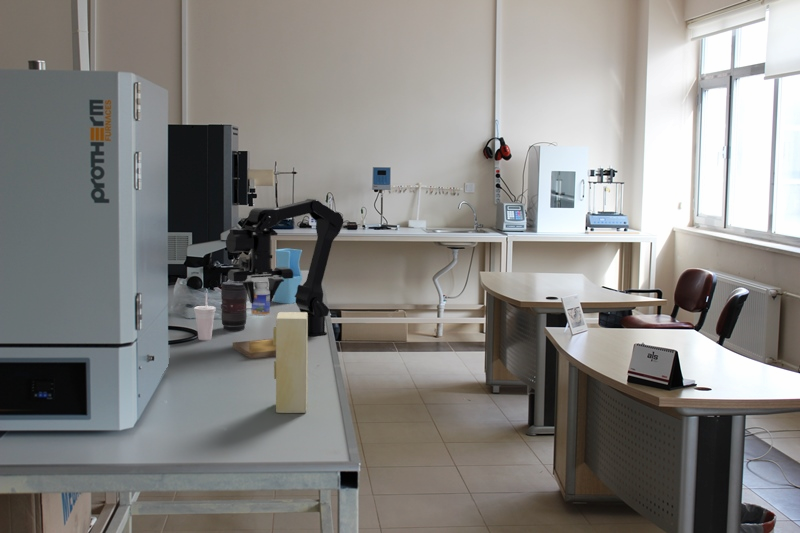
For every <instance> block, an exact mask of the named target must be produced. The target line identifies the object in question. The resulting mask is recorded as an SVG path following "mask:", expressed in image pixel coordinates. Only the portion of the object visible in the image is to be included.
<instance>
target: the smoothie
mask: <svg viewBox="0 0 800 533" xmlns="http://www.w3.org/2000/svg"><path fill="white" fill-rule="evenodd" d="M208 304H209V303H208V293H207V292H206V293H205V305H198V306H194V308H193V311H194V313H195V314H194V315H195V321H196V330H197V337H198V340H199V341H211V340H212V337H213V336H212V335H213V328H214V327H213V326H214V320H215V312H216V311H217V310H216V306H212V305H208Z"/></svg>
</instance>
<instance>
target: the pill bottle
mask: <svg viewBox="0 0 800 533" xmlns="http://www.w3.org/2000/svg"><path fill="white" fill-rule="evenodd" d="M253 282H254V281H253ZM270 312H271V302H270V290H269V281H264V280H263V281H262V280H261V281H260V280H259V281H255V282H254V300H253V304H251V315H253V316H258V317H263V316H265V317H266V316H269V315H270Z"/></svg>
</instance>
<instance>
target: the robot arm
mask: <svg viewBox="0 0 800 533" xmlns="http://www.w3.org/2000/svg"><path fill="white" fill-rule="evenodd" d="M304 215H309V216H310V217H311V219H313V220H314V221H315V230H316V235H317V237H316V238H317V239H316V243H315V246H314V249H313V254H312V258H311V262H310V266H309V269H308V273H307V277H306V280H305V282H304V283H303V284H300V285H298V287H297V293H296V295H295V297H296V303H295V304H296V307H298V310H299V312H307V313H308V337H313V336H315V337H316V336H322V335H328V332H326V328H325V327H326V324H325V323H326V317H328V316H329V313H330V308H328V306H327V305H326V304H325V303H324V302H323V301H324V290H323V286H322V283H323V280H324V277H325V272H326V268H327V265H328V261H329V256H330V254H331V250H332V244H333V242H334V240H335V239H336V238H337V236H338V235H339V234H340V232H341V230H342V227H343V225H344V218H343V216H342V214H341V213H339V212H337V211H334V210H333V208H332V209H331V208H330V207H328V206H326V205H324V203H322V202H321V201H320V200H318V199H315V198H307V199H305V200H303V201H302V200H301V201H296V202H293V203H290V204H285V205H280V206H276V207H254V208H252V209H250V211H249V213H248V216H247V218H246V220H245V221H244V223H243V225H242V226H241V228H239V229H238V228H237V229H236V228H230V229H229V233H227V236H226V239H225V246H226V250H227V251H228V252H229V253H230V254H231V253H234V254H235V253H248V252H251V253H249V258H248V259H247V257H245V256H243V257H239V258H238V268H239V269H238V268H237V269H229V270H228V272H227V279H228V280H230V281H231V282H241V283H242V284H243V285H244V287H245V289H246V291H247V298H248V299H249V302H250V305H252V304H253V300H254V289H255V287H254V281H252V279H255V278H267V280H268V281H267V282H268V289H269V290H270V303H272V302H273V299H274V295H275V292H276V290H277V288H278V287H279V285H280V283H281V282H284V280H283V279H282V277H283V278H284V279H289V278H293V270H292V269H290V268H287V267H276V266H275V268H274V270H273V268H272V266H271V265H272V259H273V255H272V254H271V253H272V237H273V236H278V232H277V231H275V229H274V228H273V227H274V226H277V225H278V224H279V223H281V222H282V221H284V220H285V221H286V220H288V219H292V218H296V217H300V216H304ZM243 269H244V270H243Z"/></svg>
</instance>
